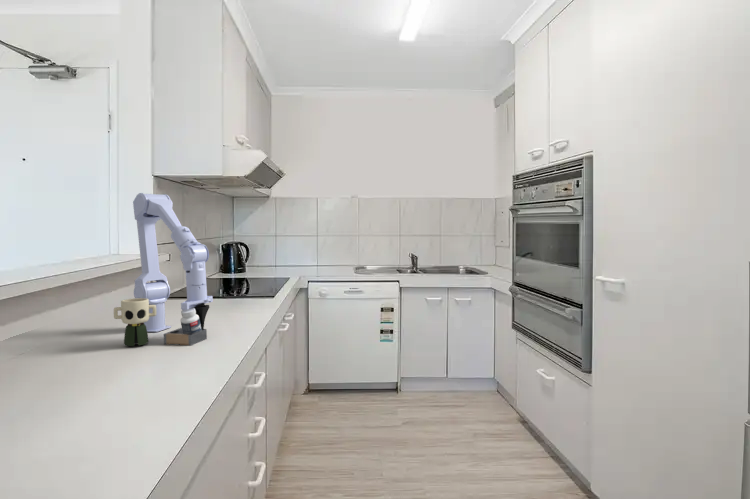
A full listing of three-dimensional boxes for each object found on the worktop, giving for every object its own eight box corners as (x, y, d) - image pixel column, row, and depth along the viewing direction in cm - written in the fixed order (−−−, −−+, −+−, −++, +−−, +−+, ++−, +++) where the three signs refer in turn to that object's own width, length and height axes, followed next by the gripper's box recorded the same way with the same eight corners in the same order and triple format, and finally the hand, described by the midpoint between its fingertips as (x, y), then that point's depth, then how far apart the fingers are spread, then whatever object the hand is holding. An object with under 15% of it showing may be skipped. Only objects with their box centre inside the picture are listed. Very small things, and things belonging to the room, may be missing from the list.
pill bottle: (194, 342, 146) (188, 314, 143) (180, 340, 148) (174, 313, 145) (206, 333, 151) (201, 307, 148) (192, 332, 152) (187, 305, 150)
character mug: (114, 350, 136) (112, 303, 136) (115, 344, 143) (114, 299, 142) (157, 346, 141) (156, 300, 140) (157, 340, 147) (155, 296, 146)
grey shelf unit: (164, 344, 143) (163, 333, 143) (180, 337, 151) (180, 327, 151) (191, 345, 141) (190, 334, 141) (206, 338, 149) (206, 328, 149)
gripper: (195, 287, 143) (198, 334, 143) (220, 281, 157) (223, 324, 157) (173, 288, 144) (176, 334, 145) (200, 282, 158) (202, 324, 159)
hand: (199, 329), depth 151 cm, fingers closed, pressing on pill bottle
